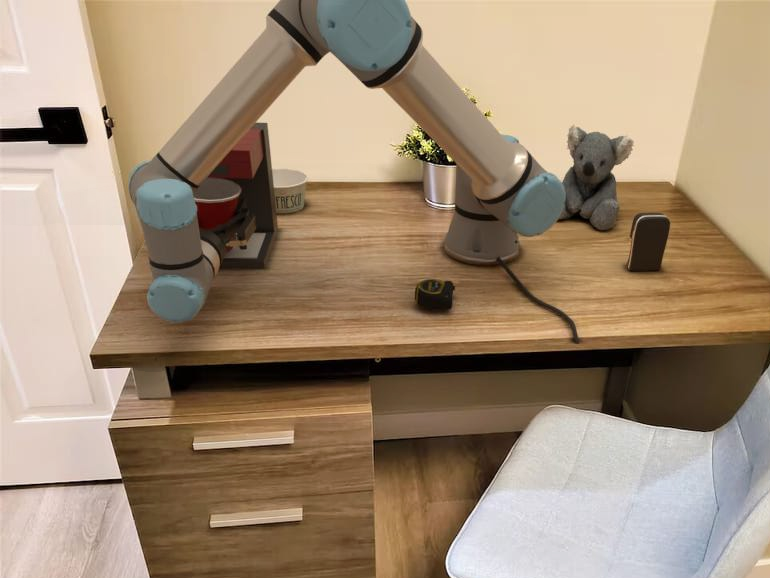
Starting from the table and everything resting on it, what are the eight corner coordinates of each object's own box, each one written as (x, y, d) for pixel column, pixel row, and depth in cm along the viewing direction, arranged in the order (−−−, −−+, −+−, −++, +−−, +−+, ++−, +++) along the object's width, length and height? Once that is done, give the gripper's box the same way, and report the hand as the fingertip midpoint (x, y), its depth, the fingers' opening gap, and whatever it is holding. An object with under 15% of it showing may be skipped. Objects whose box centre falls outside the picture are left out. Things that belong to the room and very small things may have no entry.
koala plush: (537, 218, 165) (546, 131, 155) (561, 194, 180) (571, 112, 169) (612, 234, 160) (627, 145, 150) (630, 208, 174) (645, 125, 164)
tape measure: (451, 316, 127) (452, 297, 125) (412, 313, 127) (412, 294, 125) (454, 297, 132) (455, 278, 130) (417, 294, 132) (417, 275, 130)
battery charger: (654, 262, 150) (665, 209, 143) (661, 271, 146) (673, 217, 140) (622, 263, 148) (631, 210, 142) (628, 272, 145) (638, 217, 139)
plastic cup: (235, 263, 132) (226, 200, 126) (177, 257, 133) (165, 194, 126) (257, 239, 141) (250, 179, 135) (203, 233, 142) (193, 173, 135)
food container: (290, 191, 170) (288, 164, 167) (321, 207, 164) (319, 179, 160) (244, 203, 163) (240, 175, 159) (274, 220, 156) (271, 190, 153)
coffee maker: (264, 268, 137) (251, 152, 125) (181, 267, 136) (160, 149, 124) (278, 229, 152) (267, 122, 140) (203, 228, 151) (186, 120, 139)
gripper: (138, 278, 120) (174, 222, 139) (260, 279, 122) (279, 224, 141) (128, 235, 115) (167, 184, 135) (255, 237, 118) (275, 186, 137)
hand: (224, 204), depth 138 cm, fingers closed on plastic cup, 6 cm apart
